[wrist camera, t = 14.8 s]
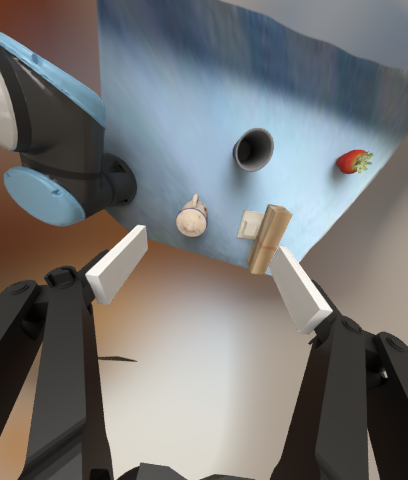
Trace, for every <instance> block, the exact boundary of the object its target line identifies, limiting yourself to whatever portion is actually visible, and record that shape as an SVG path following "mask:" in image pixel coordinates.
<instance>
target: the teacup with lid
mask: <svg viewBox="0 0 408 480" xmlns="http://www.w3.org/2000/svg"><path fill="white" fill-rule="evenodd" d="M207 215H208V211H207V208H206V206H205V205H204V204H203V203H202V202H200V201H198V195H197V194H194V196H193V200H192V201H189V202H187V203H186V204H185V205H184V207H183V208H182V210H181V211H180V212H179V214H178V215H177V218H176V224H177V227H178V229H179V231H180V232H181V233H183V234H184V235H186V236H190V237H195V236H199V235H200V234H202V233H203V232H204V231H205V229H206V227H207Z"/></svg>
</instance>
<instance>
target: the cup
mask: <svg viewBox="0 0 408 480" xmlns="http://www.w3.org/2000/svg"><path fill="white" fill-rule="evenodd" d="M273 150H274V142H273V138H272V136H271V134H270V133H269V132H268V131H266V130H265V129H262V128H254V129H251V130H249V131H247V132H246V133H245V134H244V135H243V136H242V137H241V138H240V139H239V140H238V142H237V143H236V144H235V146H234V148H233V156H234V158H235V160H236V161H237V163H238V165H239V166H240V167H241V168H242V169H244V170H246V171H251V172H252V171H257V170H260V169H261V168H263V167H264V166H265V165H266V164H267V163H268V162H269V160H270V159H271V157H272V154H273Z"/></svg>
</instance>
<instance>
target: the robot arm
mask: <svg viewBox="0 0 408 480" xmlns="http://www.w3.org/2000/svg"><path fill="white" fill-rule="evenodd" d="M104 130H106V126H105V107H104V104H103V101H102V100H101V98H100V97H99V96H98V95H97V94H96V93H95V92H93V91H92V90H91V89H89V88H88V87H86V86H85V85H83V84H82V83H81V82H79V81H78V80H76V79H74V78H73V77H72V76H70V75H68V74H67V73H65V72H64V71H62V70H61V69H59V68H58V67H56V66H55V65H53V64H51V63H50V62H48V61H46V60H45V59H43V58H41V57H40V56H39V55H37V54H35V53H34V52H32V51H30V50H29V49H28V48H26V47H25V46H23V45H21V44H20V43H18V42H16V41H15V40H13V39H12V38H10V37H8V36H6V35H4V34H3V33H1V32H0V146H1V147H2V148H4V149H5V150H10V151H16V152H19V153H20V158H21V162H22V166H16V167H13V168H11V169H9V170H8V172H6V173H5V174H4V184H5V186H6V189H7V191H8V192H9V194H10V195H11V196H12V198H13V199H14V200H15V201H16V202H17V203H18V204H19V205H20V206H21V207H22V208H23V209H25V210H26V211H27V212H28V213H29V214H31V215H32V216H34V217H35V218H37V219H39V220H41V221H43V222H45V223H48V224H51V225H55V226H69V225H72V224H74V223H76V222H80V221H83V220H84V219H86V218H87V217H89V216H91V215H93V214H95V213H97V212H99V211H101V210H102V209H104V208H106V207H108V206H122V205H125V204H127V203H129V202H130V201H131V200H132V199H133V198H134V196H135V194H136V189H137V186H136V180H135V177H134V175H133V173H132V171H131V169H130V168H129V167H128V165H127V164H126V163H125V162H124V161H122V160H121V159H120V158H118V157H116V156H114V155H112V154H108V153H103V148H104ZM147 249H148V246H147V235H146V226H142V225H137V226H136V227H135V228H134V229H133V230H132V231H131V232H130V233H129V234H128V235H127V236H126V237H124V238H123V239H122V240H121V241H120V242H119V243H118V244H117V245H116V246H115V247H114V248H113V249H112V250H105V251H103V252H101V253H99V254H98V255H97V256H96V257H95V258H94V259H92V260H91V261H90V262H89V263H88V264H87V265H85V266H84V267H83V268H82V269H81V270H80V271H79V272H76V269H75V268H74V267H72V266H63V267H59V268H56V269H54V270H52V271H50V272H49V273H48V274H46V276H45V277H44V279H45V281H46V282H47V284H48V285H39V286H38V284H37V283H36V281H33V280H25V281H20V282H17V283H15V284H12V285H11V286H9V287H7V288H6V289H5V290H4V291H2V292H1V294H0V436H1V433H2V431H3V429H4V427H5V424H6V422H7V420H8V418H9V415H10V413H11V411H12V409H13V406H14V404H15V402H16V399H17V397H18V395H19V393H20V391H21V388H22V386H23V384H24V382H25V379H26V377H27V375H28V373H29V370H30V368H31V366H32V364H33V361H34V359H35V357H36V355H37V352H38V350H39V348H40V346H41V343H42V341H43V345H42V352H41V358H40V366H39V372H38V379H37V387H36V394H35V400H34V407H33V414H32V421H31V427H30V434H29V442H28V448H27V455H26V461H25V466H24V469H23V471H22V474H21V475H20V477H19V478H18V480H114V477H113V468H112V459H111V452H110V447H109V443H108V440H107V436H106V430H105V422H104V412H103V403H102V393H101V383H100V374H99V365H98V355H97V345H96V336H95V326H94V317H93V308H92V304H91V302H92V301H93V300H94V298H96V301H97V303H100V304H107V305H109V303H110V302H111V300H112V299H113V297H114V296H115V295H116V293H117V292H118V291H119V289H120V288H121V286H122V285H123V283H124V282H125V281H126V279H127V278H128V276H129V275H130V274H131V272H132V271H133V269H134V268H135V266H136V265H137V264H138V262H139V260H140V259H141V258H142V257H143V255H144V254H145V252H146V251H147ZM269 269H270V271H271V273H272V275H273V278H274V280H275V282H276V284H277V286H278V289H279V291H280V293H281V295H282V298H283V300H284V302H285V305H286V307H287V309H288V311H289V313H290V316H291V318H292V320H293V323H294V325H295V327H296V329H297V332H298V333H303V334H310V333H311V332H312V331H313V330H314V331H315V333H316V334H317V335H316V336H315V337H314V338H313V339H312V340H311V341H310V342H309V343H308V344H312V343H313V344H312V348H311V351H310V355H309V359H308V362H307V366H306V370H305V373H304V377H303V380H302V384H301V388H300V391H299V395H298V398H297V402H296V406H295V409H294V413H293V416H292V420H291V424H290V427H289V431H288V435H287V438H286V442H285V446H284V449H283V453H282V456H281V459H280V461H279V463H278V464H277V466H276V467H275V468H274V470H273V473H272V475H271V478H270V480H369V473H368V438H367V428H368V432H369V436H370V440H371V444H372V448H373V452H374V456H375V461H376V465H377V468H378V472H379V477H380V480H408V346H407V345H406V344H405V343H403V341H401V340H400V339H399V338H397V337H395V336H393V335H392V334H389V333H387V332H380V333H378V334H377V335H374V334H371V333H369V332H367V331H364V330H362V328H361V327H360V326H359V325H358V324H357V323H356V322H355V321H353V320H352V319H350V318H348V317H346V316H342V314H341V313H340V312H339V310H338V309H337V308H336V306H335V305H334V304H333V302H332V301H331V300H330V299H329V297H327V295H326V293H325V292H324V291H323V289H322V288H321V287H320V285H318V284H317V283H316V282H315V281H314V280H310V279H309V277H308V276H307V274H306V273H305V272H304V270H303V269H302V267H301V266H300V265H299V263H298V262H297V261H296V259H295V258H294V256H293V255H292V254H291V252H290V251H289V249H288V248H287V247H283V246H279V247H278V249H277V251H276V253H275V255H274V257H273V259H272V261H271V263H270V265H269ZM384 371H386V373H387V376H388V378H386V377H385V375H384V373H383V372H384ZM117 480H187V479H185V478H184V477H182V476H181V475H180V474H178V473H177V472H175V471H174V470H173V469H171V468H170V467H168V466H161V465H154V464H147V463H140V466H138V467H135V468H133V469H131V470H129V471H128V472H126V473H124V474H123V475H122V476H120V477H119V478H118V479H117ZM200 480H255V479H249V478H242V477H235V476H229V475H218V474H214V475H211V476H209V477H206V478H203V479H200Z"/></svg>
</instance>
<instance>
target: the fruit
mask: <svg viewBox="0 0 408 480" xmlns="http://www.w3.org/2000/svg"><path fill="white" fill-rule="evenodd" d="M368 152H369V151H368ZM368 152H366V151H364V150H353V151H350V152H348V153H346V154H344V155H342V156H341V157H339V158H338V159H337V162H336V164H337V166H338V167H339V169H340V171H341V172H343V173H345V174H351V173H354V172H358V173H361V170H367V169H368V168H366V167H365V166H364V165H369V164H372V163H371V162H366V161H367V160H369V159H370V158H371V157H372V156H374V155H372V154H373V153H371V154H367V153H368ZM360 169H361V170H360Z"/></svg>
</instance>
